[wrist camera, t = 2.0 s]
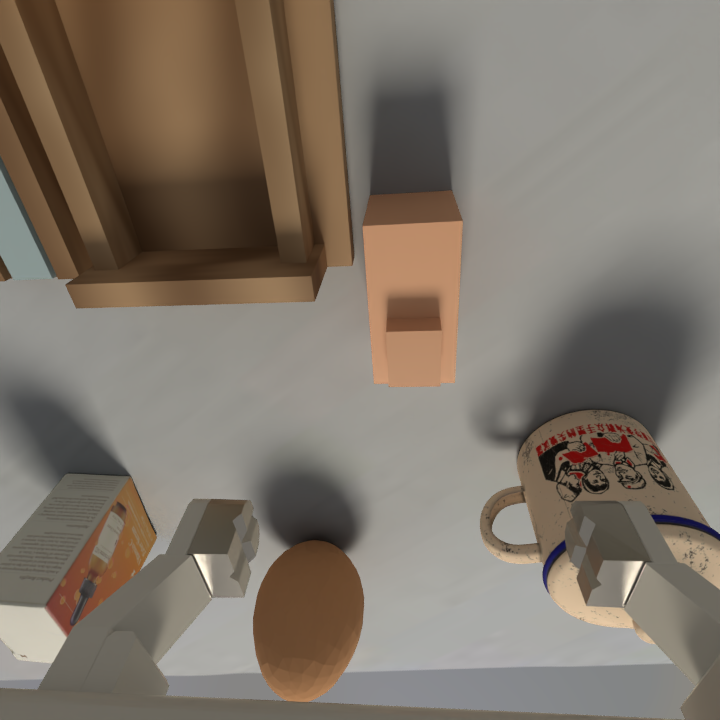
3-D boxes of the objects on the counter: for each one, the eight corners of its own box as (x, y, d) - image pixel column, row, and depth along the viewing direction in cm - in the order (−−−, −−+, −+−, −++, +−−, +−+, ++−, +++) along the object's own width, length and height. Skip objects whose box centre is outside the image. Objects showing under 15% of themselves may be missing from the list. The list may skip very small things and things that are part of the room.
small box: (159, 536, 40) (91, 669, 32) (99, 533, 41) (16, 663, 32) (131, 473, 36) (44, 608, 27) (64, 470, 36) (-43, 602, 28)
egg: (311, 502, 36) (279, 659, 27) (388, 549, 39) (383, 706, 29) (254, 545, 40) (208, 695, 30) (327, 584, 42) (306, 734, 33)
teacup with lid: (661, 393, 28) (799, 574, 18) (648, 492, 32) (752, 677, 23) (461, 421, 30) (489, 593, 20) (477, 509, 35) (506, 682, 25)
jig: (327, -72, 17) (302, -115, 13) (354, 257, 24) (343, 300, 20) (-138, -18, 19) (-295, -40, 15) (13, 270, 26) (-63, 312, 22)
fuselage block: (451, 189, 22) (466, 230, 17) (446, 331, 27) (457, 397, 21) (370, 194, 23) (360, 235, 17) (378, 333, 27) (372, 398, 22)
